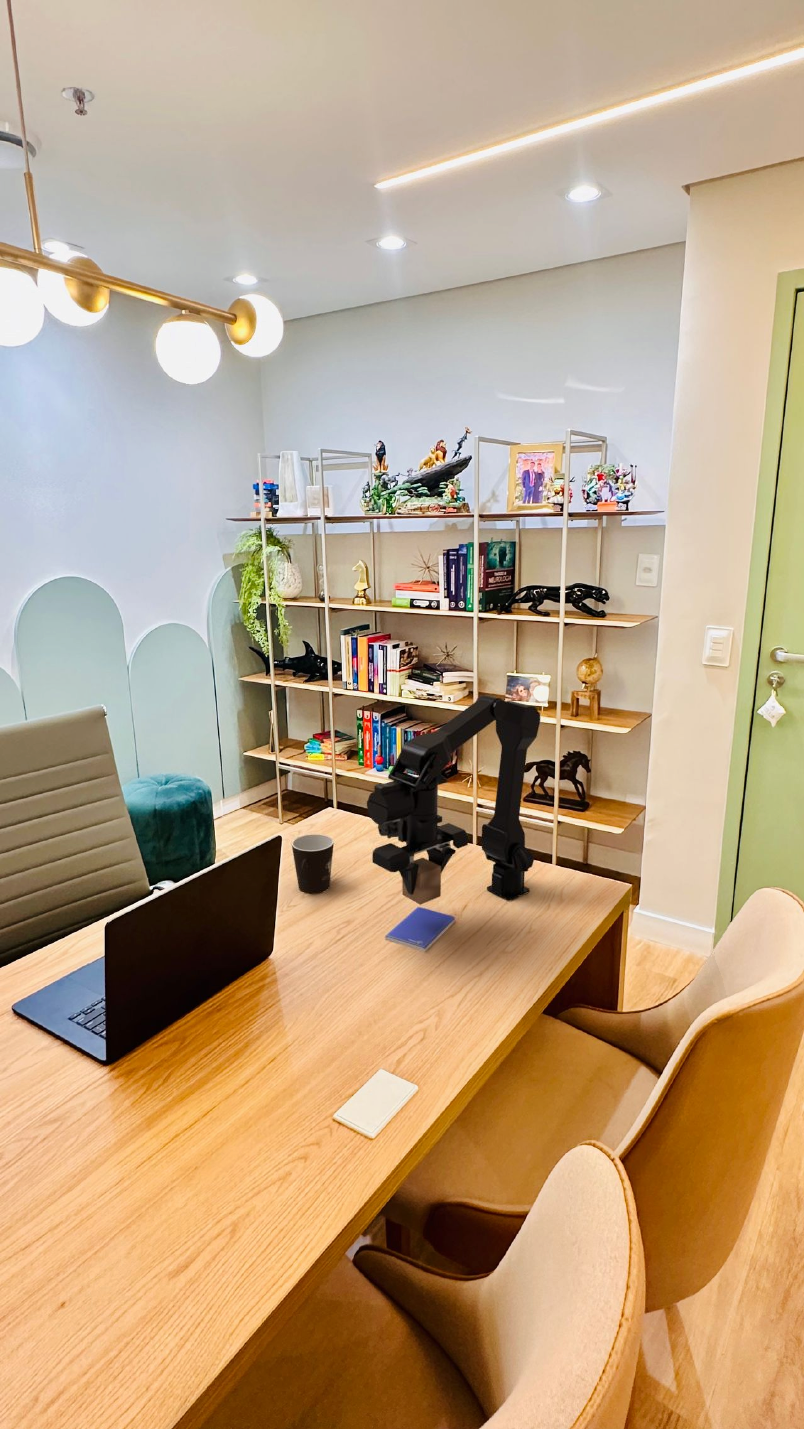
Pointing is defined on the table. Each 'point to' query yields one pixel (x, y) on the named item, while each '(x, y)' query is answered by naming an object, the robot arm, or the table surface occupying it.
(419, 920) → the hard drive
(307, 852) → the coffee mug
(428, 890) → the walnut block
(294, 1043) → the table surface
